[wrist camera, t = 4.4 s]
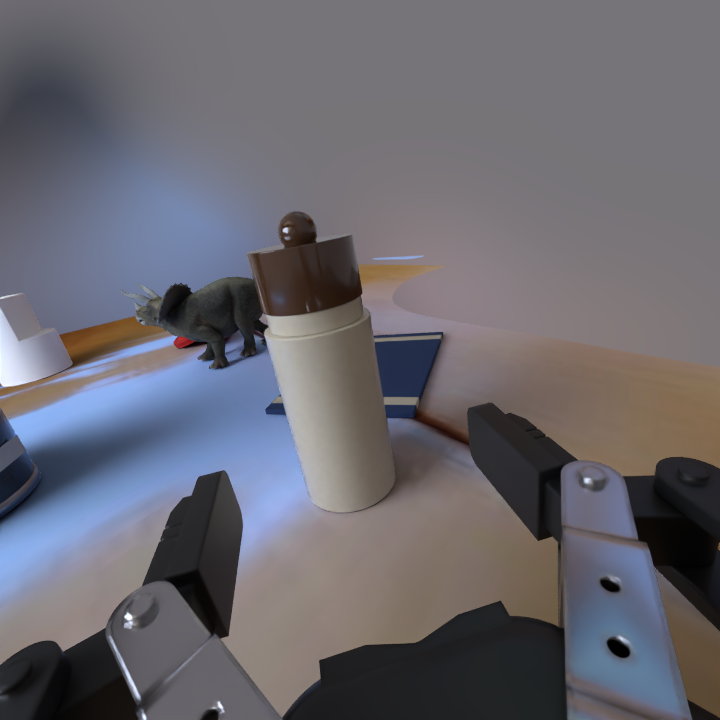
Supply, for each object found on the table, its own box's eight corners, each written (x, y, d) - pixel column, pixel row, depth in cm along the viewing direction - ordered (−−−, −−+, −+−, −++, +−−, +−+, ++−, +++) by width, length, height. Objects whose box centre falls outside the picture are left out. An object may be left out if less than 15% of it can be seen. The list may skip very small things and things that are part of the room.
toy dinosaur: (309, 326, 57) (292, 251, 53) (326, 338, 50) (308, 252, 45) (155, 368, 50) (122, 286, 46) (149, 390, 43) (109, 294, 38)
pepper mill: (291, 507, 21) (206, 225, 15) (328, 449, 26) (273, 217, 20) (382, 519, 19) (322, 202, 13) (404, 454, 24) (366, 199, 18)
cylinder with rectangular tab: (61, 374, 55) (21, 295, 51) (-11, 392, 53) (-60, 311, 48) (80, 357, 63) (46, 288, 59) (17, 372, 60) (-22, 301, 56)
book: (266, 414, 32) (264, 408, 32) (340, 341, 48) (340, 337, 47) (414, 418, 27) (413, 412, 27) (443, 335, 43) (442, 331, 43)
